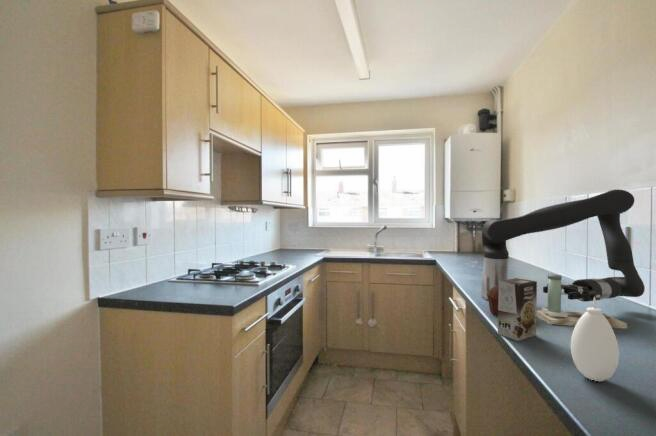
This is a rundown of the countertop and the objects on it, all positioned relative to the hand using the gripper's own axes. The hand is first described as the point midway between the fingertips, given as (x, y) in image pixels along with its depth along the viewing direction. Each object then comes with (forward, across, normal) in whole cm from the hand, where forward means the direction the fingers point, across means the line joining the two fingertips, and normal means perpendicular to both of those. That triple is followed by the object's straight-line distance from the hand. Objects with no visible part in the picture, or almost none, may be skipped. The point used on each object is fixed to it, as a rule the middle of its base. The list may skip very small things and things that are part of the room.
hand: (556, 292), depth 103 cm
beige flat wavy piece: (-6, +3, +9) cm, 11 cm away
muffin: (+12, -9, +9) cm, 18 cm away
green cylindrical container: (+1, 0, +7) cm, 7 cm away
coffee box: (+24, +7, +9) cm, 27 cm away
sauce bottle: (+29, +31, +9) cm, 43 cm away
